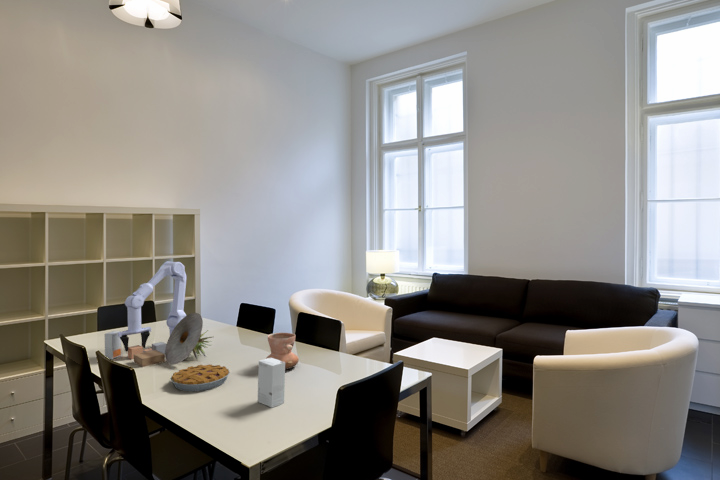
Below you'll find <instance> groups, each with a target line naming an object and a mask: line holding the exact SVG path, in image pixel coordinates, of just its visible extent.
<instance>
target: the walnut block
mask: <svg viewBox="0 0 720 480" xmlns="http://www.w3.org/2000/svg"><path fill="white" fill-rule="evenodd" d="M162 362H163V363H165V362H166V358H165V354H164V353H161V352H159V351H157V350H154V351H149V352H144V353H139V354H134V359H133V363H135V365H137V366H139V367H142V368H143V367H149V366H153V365H157V364H163V363H162Z"/></svg>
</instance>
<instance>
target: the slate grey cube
mask: <svg viewBox="0 0 720 480" xmlns="http://www.w3.org/2000/svg"><path fill="white" fill-rule="evenodd" d="M166 345H167V342H166V343H165V342H163V341H159V342H155V343H151V347H152V351H154V350H157V351H159V352H161V353H164V354H165V349H166Z"/></svg>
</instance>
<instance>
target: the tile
mask: <svg viewBox="0 0 720 480" xmlns="http://www.w3.org/2000/svg"><path fill="white" fill-rule="evenodd" d="M149 351H152V346H151V347H145V348H143V353H144V352H149Z"/></svg>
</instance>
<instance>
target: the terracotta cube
mask: <svg viewBox="0 0 720 480" xmlns="http://www.w3.org/2000/svg"><path fill="white" fill-rule="evenodd" d="M143 349H144V348H143V347H142V345H140V344H138V345H132V346H128V351H127V358H128V359H130V360H134V354H139V353H143Z"/></svg>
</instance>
